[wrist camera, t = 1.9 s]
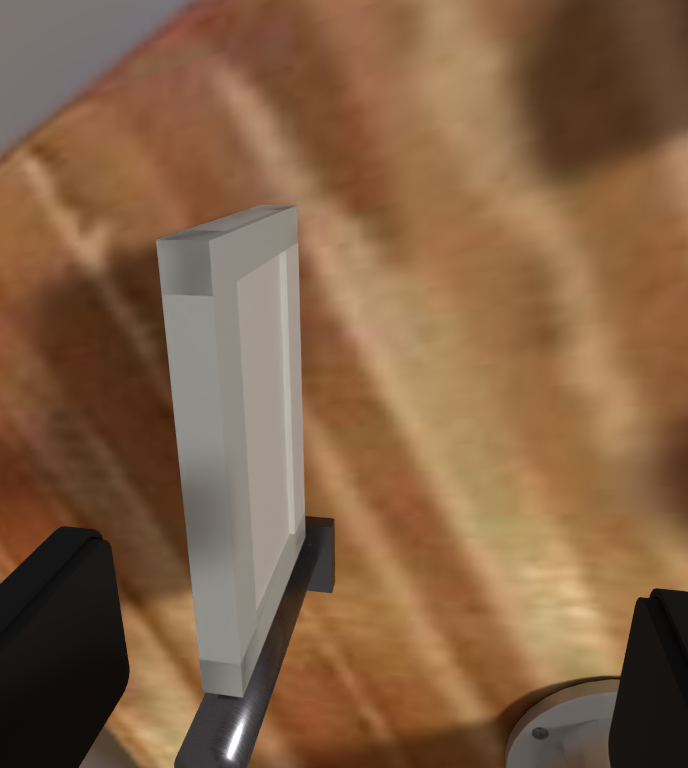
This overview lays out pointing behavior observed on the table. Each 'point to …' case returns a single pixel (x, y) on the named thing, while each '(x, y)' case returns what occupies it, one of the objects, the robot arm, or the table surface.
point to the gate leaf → (237, 425)
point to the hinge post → (260, 665)
